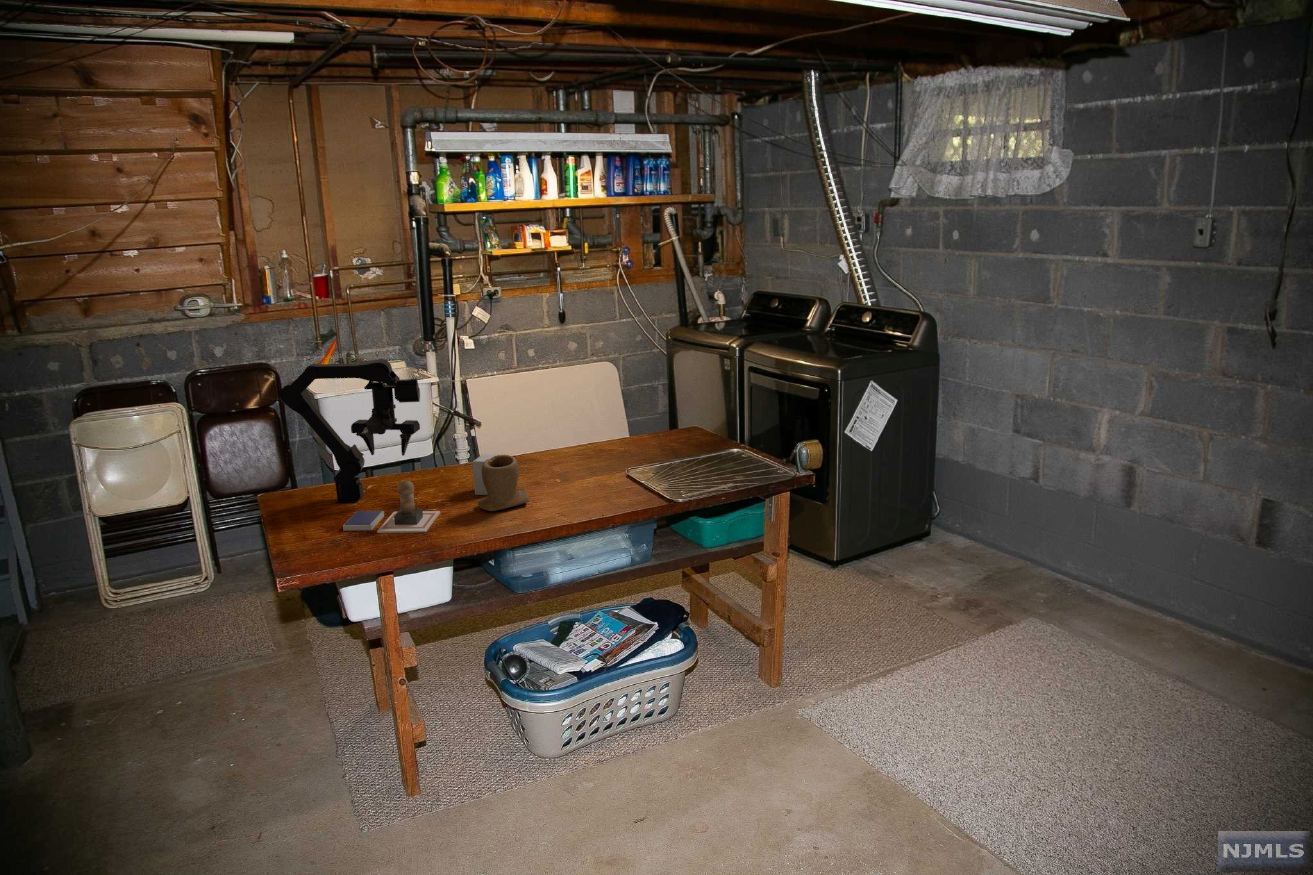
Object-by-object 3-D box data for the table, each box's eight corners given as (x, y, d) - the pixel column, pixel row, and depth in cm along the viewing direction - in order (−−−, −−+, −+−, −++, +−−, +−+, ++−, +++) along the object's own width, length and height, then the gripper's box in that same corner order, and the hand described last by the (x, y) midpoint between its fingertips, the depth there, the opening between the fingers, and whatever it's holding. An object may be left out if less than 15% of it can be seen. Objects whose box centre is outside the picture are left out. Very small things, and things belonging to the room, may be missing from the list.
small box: (492, 495, 268) (489, 461, 265) (474, 495, 269) (471, 461, 267) (502, 487, 276) (499, 454, 273) (484, 486, 277) (482, 453, 274)
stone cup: (490, 518, 250) (486, 466, 246) (473, 506, 260) (469, 456, 256) (539, 506, 258) (536, 456, 254) (522, 495, 268) (518, 447, 264)
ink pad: (343, 530, 243) (342, 524, 243) (357, 516, 254) (356, 510, 253) (371, 530, 243) (370, 524, 242) (384, 515, 253) (383, 510, 253)
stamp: (394, 524, 245) (390, 484, 242) (401, 517, 251) (397, 477, 248) (417, 524, 245) (413, 484, 242) (423, 516, 251) (419, 477, 248)
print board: (377, 532, 241) (376, 530, 241) (394, 513, 255) (393, 511, 255) (425, 532, 241) (425, 530, 240) (440, 512, 255) (439, 510, 255)
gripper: (340, 409, 255) (345, 462, 259) (404, 410, 253) (409, 463, 258) (356, 400, 266) (361, 451, 270) (418, 401, 264) (422, 452, 268)
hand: (388, 455), depth 266 cm, fingers open, 9 cm apart
